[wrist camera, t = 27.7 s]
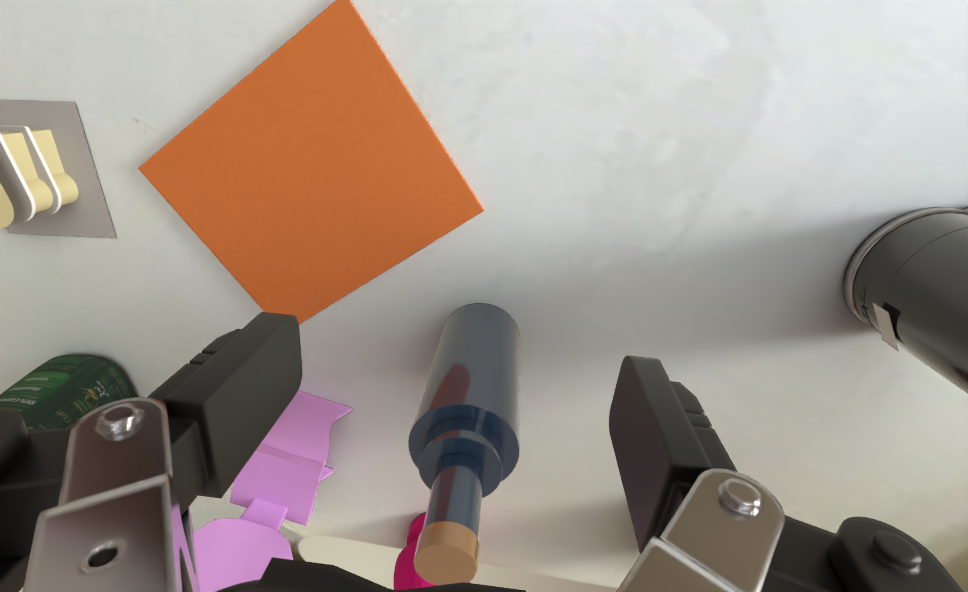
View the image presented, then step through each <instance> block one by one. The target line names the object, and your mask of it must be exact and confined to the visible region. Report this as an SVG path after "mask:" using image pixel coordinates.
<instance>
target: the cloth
mask: <svg viewBox="0 0 968 592" xmlns="http://www.w3.org/2000/svg"><path fill="white" fill-rule="evenodd" d="M138 169H139V170H140V171H141V172H142V173H143V175H144V176H145V177H146V178H147V179H148V180H149V181H150V182H151V184H152V185H153V186H154V187H155V188H156V189H157V190H158V191H159V193H160V194H161V195H162V196H163V197H164V198H165V199H166V201H167V202H168V203H169V204H170V205H171V206H172V207H173V208H174V210H175V211H176V212H177V213H178V214H179V215H180V216H181V218H182V219H183V220H184V221H185V222H186V223H187V224H188V225H189V227H190V228H191V229H192V230H193V231H194V232H195V233H196V235H197V236H198V237H199V238H200V239H201V240H202V241H203V242H204V244H205V245H206V246H207V247H208V248H209V249H210V250H211V252H212V253H213V254H214V255H215V256H216V257H217V258H218V259H219V261H220V262H221V263H222V264H223V265H224V266H225V267H226V269H227V270H228V271H229V272H230V273H231V274H232V275H233V276H234V278H235V279H236V280H237V281H238V282H239V283H240V284H241V286H242V287H243V288H244V289H245V290H246V291H247V292H248V293H249V295H250V296H251V297H252V298H253V299H254V300H255V301H256V303H257V304H258V305H259V306H260V307H261V308H262V309H263V310H264V312H270V313H279V314H287V315H294V316H296V318H297V320H298V323H299V324H300V323H302V322H303V321H305V320H306V319H308V318H310V317H311V316H313V315H315V314H316V313H318V312H319V311H321V310H323V309H324V308H326V307H328V306H329V305H331V304H333V303H334V302H336V301H337V300H339V299H341V298H342V297H344V296H346V295H347V294H349V293H350V292H352V291H354V290H355V289H357V288H359V287H360V286H362V285H363V284H365V283H367V282H368V281H370V280H372V279H373V278H375V277H377V276H378V275H380V274H381V273H383V272H385V271H386V270H388V269H390V268H391V267H393V266H394V265H396V264H398V263H399V262H401V261H403V260H404V259H406V258H407V257H409V256H411V255H412V254H414V253H416V252H417V251H419V250H421V249H422V248H424V247H425V246H427V245H429V244H430V243H432V242H434V241H435V240H437V239H438V238H440V237H442V236H443V235H445V234H447V233H448V232H450V231H451V230H453V229H455V228H456V227H458V226H460V225H461V224H463V223H465V222H466V221H468V220H469V219H471V218H473V217H474V216H476V215H478V214H479V213H481V212H482V211H484V209H483V207H482V206H481V204H480V203H479V201H478V200H477V198H476V197H475V195H474V193H473V192H472V190H471V189H470V187H469V186H468V184H467V182H466V181H465V179H464V178H463V176H462V175H461V173H460V172H459V170H458V168H457V167H456V165H455V164H454V162H453V161H452V159H451V157H450V156H449V154H448V153H447V151H446V150H445V148H444V147H443V145H442V143H441V142H440V140H439V139H438V137H437V136H436V134H435V132H434V131H433V129H432V128H431V126H430V125H429V123H428V121H427V120H426V118H425V117H424V115H423V114H422V112H421V111H420V109H419V107H418V106H417V104H416V103H415V101H414V100H413V98H412V96H411V95H410V93H409V92H408V90H407V89H406V87H405V86H404V84H403V82H402V81H401V79H400V78H399V76H398V75H397V73H396V71H395V70H394V68H393V67H392V65H391V64H390V62H389V60H388V59H387V57H386V56H385V54H384V53H383V51H382V50H381V48H380V46H379V45H378V43H377V42H376V40H375V39H374V37H373V35H372V34H371V32H370V31H369V29H368V28H367V26H366V25H365V23H364V21H363V20H362V18H361V17H360V15H359V14H358V12H357V10H356V9H355V7H354V6H353V4H352V3H351V1H350V0H336V1H335V2H334V3H333V4H331V5H330V6H329V7H328V8H327V9H325V10H324V11H323V12H322V13H321V14H320V15H318V16H317V17H316V18H315V19H314V20H312V21H311V22H310V23H309V24H308V25H307V26H305V27H304V28H303V29H302V30H301V31H300V32H298V33H297V34H296V35H295V36H294V37H292V38H291V39H290V40H289V41H288V42H287V43H285V44H284V45H283V46H282V47H281V48H279V49H278V50H277V51H276V52H275V53H274V54H272V55H271V56H270V57H269V58H268V59H266V60H265V61H264V62H263V63H262V64H261V65H259V66H258V67H257V68H256V69H255V70H253V71H252V72H251V73H250V74H249V75H248V76H246V77H245V78H244V79H243V80H242V81H240V82H239V83H238V84H237V85H236V86H235V87H233V88H232V89H231V90H230V91H229V92H227V93H226V94H225V95H224V96H223V97H222V98H220V99H219V100H218V101H217V102H216V103H214V104H213V105H212V106H211V107H210V108H209V109H207V110H206V111H205V112H204V113H203V114H202V115H200V116H199V117H198V118H197V119H196V120H194V121H193V122H192V123H191V124H190V125H189V126H187V127H186V128H185V129H184V130H183V131H181V132H180V133H179V134H178V135H177V136H176V137H174V138H173V139H172V140H171V141H170V142H168V143H167V144H166V145H165V146H164V147H163V148H161V149H160V150H159V151H158V152H157V153H155V154H154V155H153V156H152V157H151V158H150V159H148V160H147V161H146V162H145V163H144V164H142V165H141V166H140V167H139V168H138Z"/></svg>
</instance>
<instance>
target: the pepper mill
mask: <svg viewBox="0 0 968 592" xmlns="http://www.w3.org/2000/svg"><path fill="white" fill-rule="evenodd" d="M425 517H426V513H425V514H422V515H420V516H419V517H417V518H416V519H415V520H414V521H413V522H412V524H411V526H410V530H409V534H408V538H407V546H406V547H405V548H404V549H403V550H402V551H401V553H400V554H399V556H398V558H397V561H396V565H395V571H394V590H405V589H413V588H421V587H429V586H437V585H434V584H431V583H429V582H427V581H425V580H424V579H423V578H422V577H420V576H419V574H418V573H417V572H416V570H415V567H414V556H415V552H416V547H417V543H418V538H419V535H420V533H421V531H422V530H423V526H424V521H425ZM468 583H470V581H469V582H468Z"/></svg>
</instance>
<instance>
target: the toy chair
mask: <svg viewBox="0 0 968 592" xmlns="http://www.w3.org/2000/svg"><path fill="white" fill-rule="evenodd" d="M351 410H352V408H350V407H347V406H344V405H341V404H338V403H335V402H332V401H328V400H325V399H322V398H319V397H316V396H313V395H310V394H307V393H304V392H301V391H297V393H296V395H295V396H294V398H293V399H292V401H291V402H290V403H289V405H288V406H287V408H286V409H285V410H284V412H283V413H282V415H281V416H280V417H279V419H278V420H277V421H276V423H275V424H274V426H273V427H272V428H271V430H270V431H269V433H268V434H267V435H266V437H265V438H264V440H263V441H262V442H261V444H260V445H259V447H258V448H257V449H256V451H255V452H254V453H253V455H252V456H251V458H250V459H249V460H248V462H247V463H246V465H245V466H244V467H243V469H242V470H241V472H240V473H239V474H238V476H237V477H236V478H235V480H234V483H233V487H232V492H231V498H230V503H233V504H236V505H240V506H243V507H247V509H246V511H245V512H244V513H243V515H242V516H241V517H240V518H228V519H214V520H213V521H212V522H210V523H209V524H207V525H205V526H204V527H202V528H200V529H199V530H197V531H195V532H194V533H193V535H194V544H195V552H196V560H197V569H198V577H199V586H200V592H216V591H218V590H220V589H223V588H226V587H229V586H232V585H235V584H239V583H243V582H247V581H252V580H258V579H261V577H262V575H263V573H264V571H265V569H266V568H267V566H268V564H269V562H270V560H271V558H272V557H275V558H282V559H290V560H293V557H292V553H291V549H290V541H288V540H287V539H286V538H285V537H284V536H283V535H282V534H281V533H279V531H278V530H279V529H280V527H281V525H282V523H283V521H284V519H287V520H289V521H292V522H296V523H299V524H302V525H305V526H306V524H307V522H308V520H309V518H310V516H311V514H312V512H313V505H314V501H315V497H316V493H317V489H318V486H319V483H320V482H321V481H322V480H324V479H325V478H326V477H328V476H329V475H331V474H332V473H333V472H334V469H331V468H328V467H325V463H326V460H327V458H328V454H329V432H330V429H331V426H332V425H333V423H334V422H335V421H336V420H337V419H339V418H340V417H342V416H344V415H345V414H347V413H349V412H351Z"/></svg>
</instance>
